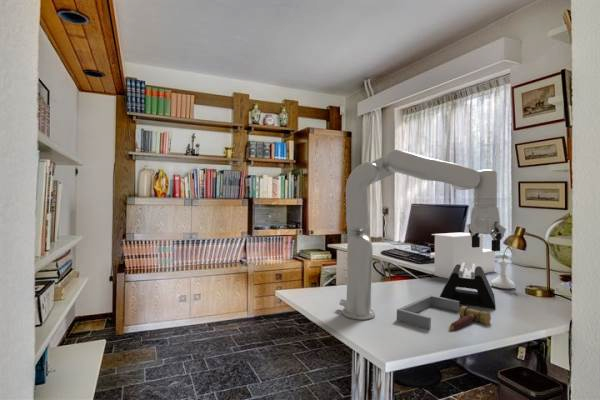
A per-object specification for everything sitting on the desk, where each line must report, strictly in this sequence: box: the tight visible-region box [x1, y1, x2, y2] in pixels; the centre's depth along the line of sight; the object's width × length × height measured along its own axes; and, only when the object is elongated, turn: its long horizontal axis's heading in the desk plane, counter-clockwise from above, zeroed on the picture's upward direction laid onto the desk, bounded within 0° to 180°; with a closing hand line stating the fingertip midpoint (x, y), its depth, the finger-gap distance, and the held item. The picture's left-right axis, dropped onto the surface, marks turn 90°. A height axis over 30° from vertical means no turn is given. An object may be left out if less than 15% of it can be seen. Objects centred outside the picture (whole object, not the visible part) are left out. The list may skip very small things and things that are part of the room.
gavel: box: [448, 305, 492, 331], centre depth 127 cm, size 21×5×10 cm
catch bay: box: [396, 294, 460, 330], centre depth 137 cm, size 12×29×4 cm, turn 136°
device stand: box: [439, 263, 497, 310], centre depth 161 cm, size 22×22×15 cm
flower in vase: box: [490, 245, 516, 289], centre depth 182 cm, size 13×11×25 cm
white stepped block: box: [429, 231, 496, 280], centre depth 217 cm, size 45×18×25 cm, turn 123°
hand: (485, 249), depth 129 cm, fingers open, 9 cm apart
